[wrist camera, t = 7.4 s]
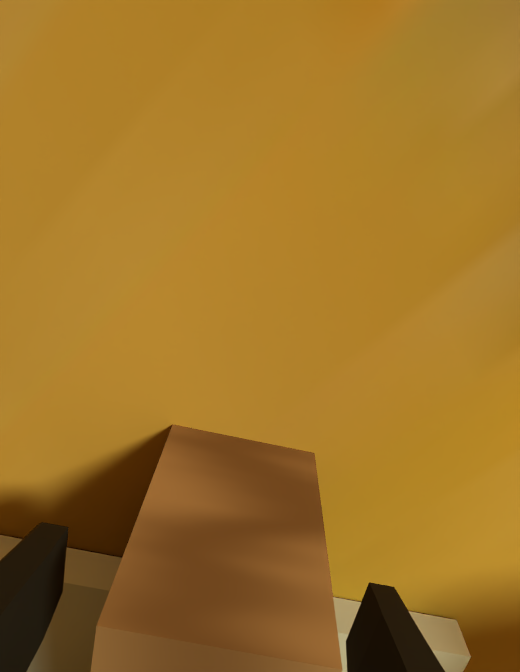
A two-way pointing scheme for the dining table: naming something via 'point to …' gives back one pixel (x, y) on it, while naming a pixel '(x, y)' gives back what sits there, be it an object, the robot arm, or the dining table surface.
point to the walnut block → (223, 565)
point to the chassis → (95, 583)
